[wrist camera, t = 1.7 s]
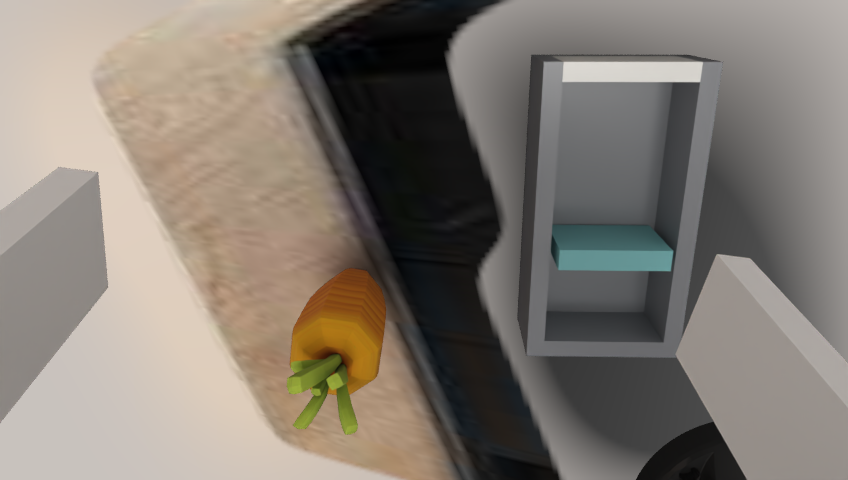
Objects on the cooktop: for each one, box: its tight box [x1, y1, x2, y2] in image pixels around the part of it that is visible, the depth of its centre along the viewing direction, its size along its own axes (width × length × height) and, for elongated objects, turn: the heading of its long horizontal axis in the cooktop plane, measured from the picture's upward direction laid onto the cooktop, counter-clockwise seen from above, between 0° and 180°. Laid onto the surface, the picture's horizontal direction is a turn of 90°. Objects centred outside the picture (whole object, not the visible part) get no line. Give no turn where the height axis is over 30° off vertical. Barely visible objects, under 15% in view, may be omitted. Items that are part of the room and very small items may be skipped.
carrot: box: [287, 268, 386, 435], centre depth 36 cm, size 5×5×15 cm
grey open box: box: [518, 55, 723, 358], centre depth 38 cm, size 17×9×5 cm, turn 0°
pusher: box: [551, 225, 673, 271], centre depth 38 cm, size 1×6×4 cm, turn 90°
